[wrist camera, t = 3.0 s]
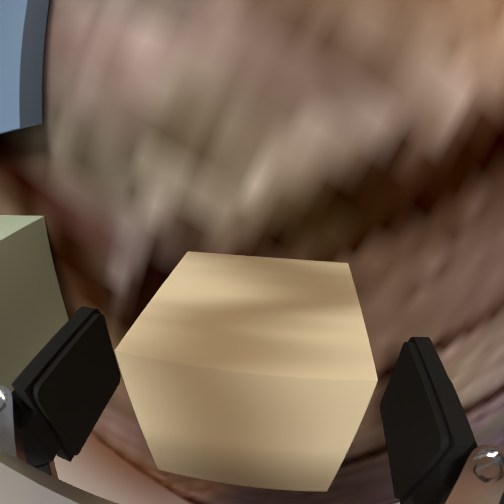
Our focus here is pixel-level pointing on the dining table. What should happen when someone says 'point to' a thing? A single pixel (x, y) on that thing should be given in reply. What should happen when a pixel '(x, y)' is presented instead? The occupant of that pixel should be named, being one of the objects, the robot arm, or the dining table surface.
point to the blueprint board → (21, 62)
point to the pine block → (250, 370)
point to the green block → (26, 294)
